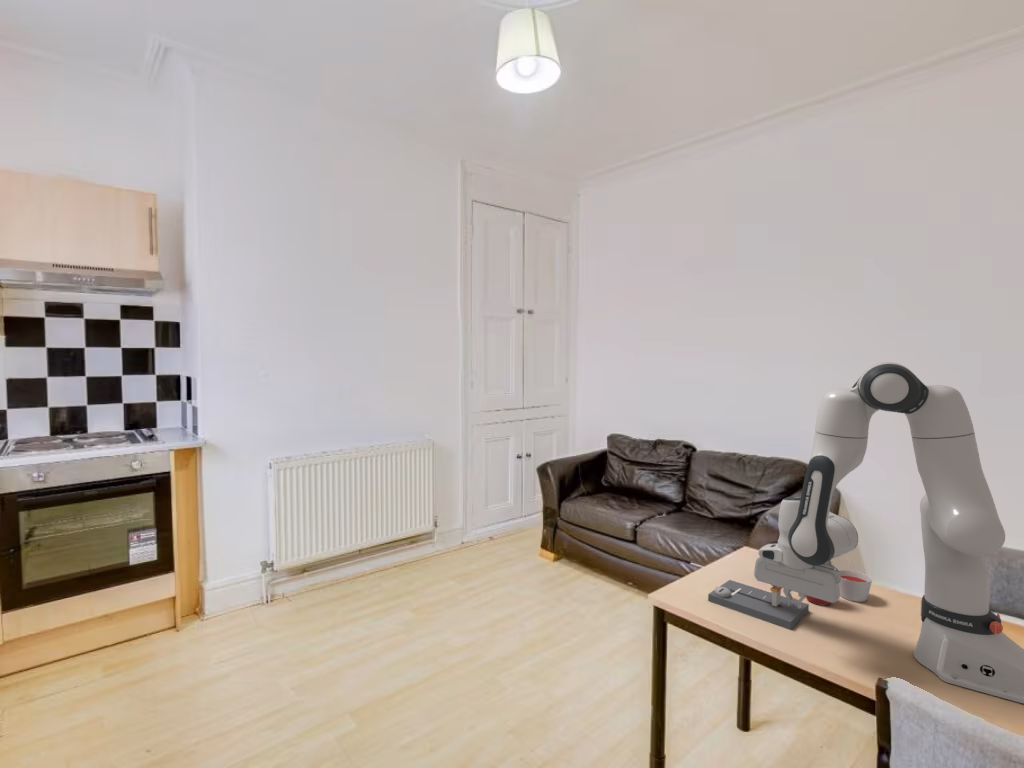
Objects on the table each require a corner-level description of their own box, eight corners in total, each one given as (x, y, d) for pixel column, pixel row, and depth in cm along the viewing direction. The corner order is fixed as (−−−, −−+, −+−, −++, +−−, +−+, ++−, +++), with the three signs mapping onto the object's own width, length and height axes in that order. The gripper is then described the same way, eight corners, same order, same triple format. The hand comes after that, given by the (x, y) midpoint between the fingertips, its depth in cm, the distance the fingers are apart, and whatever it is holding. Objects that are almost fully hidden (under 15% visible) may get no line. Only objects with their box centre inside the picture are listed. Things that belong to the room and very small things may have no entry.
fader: (781, 602, 142) (781, 585, 142) (776, 607, 140) (777, 589, 139) (775, 600, 143) (775, 584, 143) (770, 605, 141) (770, 588, 141)
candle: (829, 589, 156) (829, 568, 155) (861, 591, 154) (862, 570, 154) (843, 603, 147) (844, 581, 147) (878, 605, 145) (878, 583, 145)
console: (808, 611, 142) (808, 598, 142) (790, 629, 132) (790, 615, 132) (729, 586, 158) (729, 574, 158) (708, 600, 148) (708, 588, 148)
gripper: (844, 563, 132) (842, 616, 132) (761, 543, 146) (760, 590, 147) (837, 570, 127) (835, 625, 128) (752, 548, 142) (751, 597, 143)
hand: (794, 606), depth 138 cm, fingers closed
